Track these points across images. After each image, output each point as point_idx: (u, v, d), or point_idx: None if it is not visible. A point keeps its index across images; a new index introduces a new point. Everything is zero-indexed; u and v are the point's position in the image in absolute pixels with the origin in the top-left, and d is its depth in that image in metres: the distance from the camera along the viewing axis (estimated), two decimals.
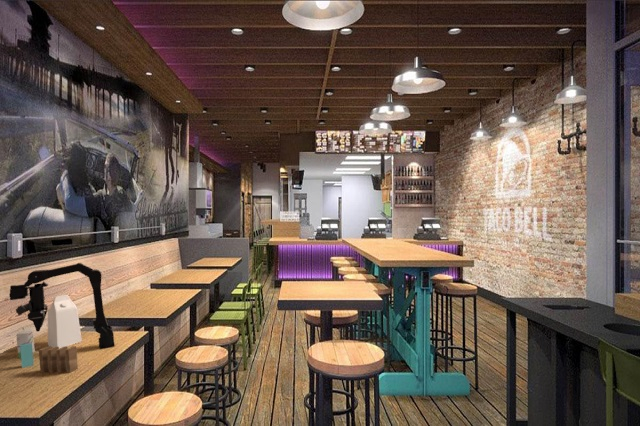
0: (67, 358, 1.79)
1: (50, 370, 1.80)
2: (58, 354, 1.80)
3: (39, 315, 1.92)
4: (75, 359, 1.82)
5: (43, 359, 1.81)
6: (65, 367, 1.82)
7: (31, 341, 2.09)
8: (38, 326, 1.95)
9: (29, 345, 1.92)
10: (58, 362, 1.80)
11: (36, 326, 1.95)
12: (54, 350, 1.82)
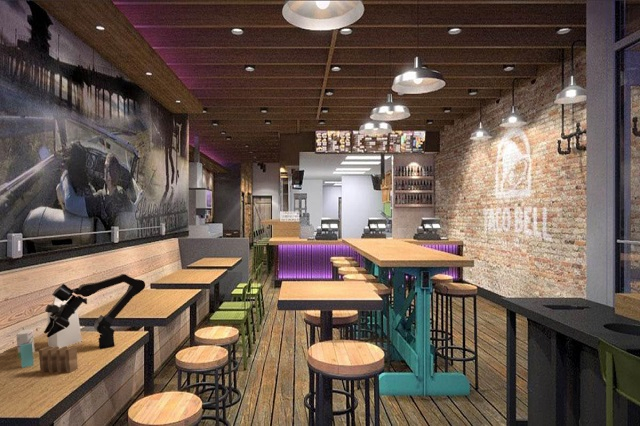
0: (67, 358, 1.79)
1: (50, 370, 1.80)
2: (58, 354, 1.80)
3: (65, 324, 1.94)
4: (75, 359, 1.82)
5: (43, 359, 1.81)
6: (65, 367, 1.82)
7: (31, 341, 2.09)
8: (52, 332, 1.94)
9: (29, 345, 1.92)
10: (58, 362, 1.80)
11: (51, 331, 1.93)
12: (54, 350, 1.82)
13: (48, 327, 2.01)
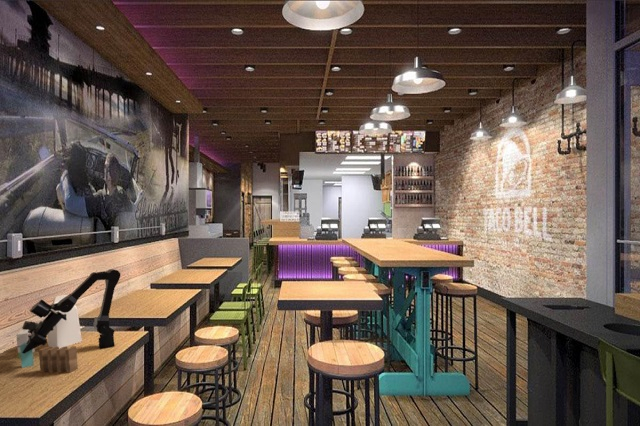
0: (67, 358, 1.79)
1: (50, 370, 1.80)
2: (58, 354, 1.80)
3: (42, 342, 1.88)
4: (75, 359, 1.82)
5: (43, 359, 1.81)
6: (65, 367, 1.82)
7: None
8: (28, 349, 1.90)
9: None
10: (58, 362, 1.80)
11: (27, 348, 1.90)
12: (54, 350, 1.82)
13: None
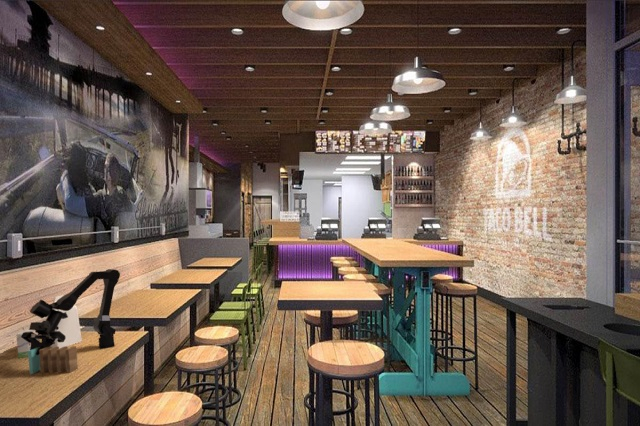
0: (67, 358, 1.79)
1: (50, 370, 1.80)
2: (58, 354, 1.80)
3: (63, 338, 1.88)
4: (75, 359, 1.82)
5: (43, 359, 1.81)
6: (65, 367, 1.82)
7: None
8: None
9: (37, 349, 1.84)
10: (58, 362, 1.80)
11: (41, 348, 1.84)
12: (54, 350, 1.82)
13: (33, 348, 1.85)
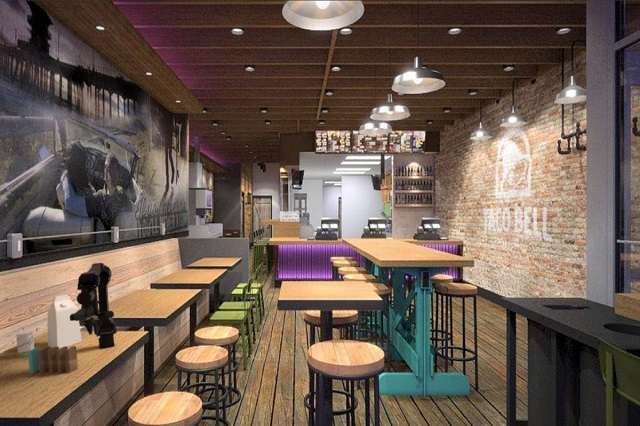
0: (67, 358, 1.79)
1: (50, 370, 1.80)
2: (58, 354, 1.80)
3: (112, 315, 1.89)
4: (75, 359, 1.82)
5: (43, 359, 1.81)
6: (65, 367, 1.82)
7: (31, 341, 2.09)
8: (97, 328, 1.89)
9: (37, 349, 1.84)
10: (58, 362, 1.80)
11: (96, 328, 1.88)
12: (54, 350, 1.82)
13: (89, 328, 1.89)
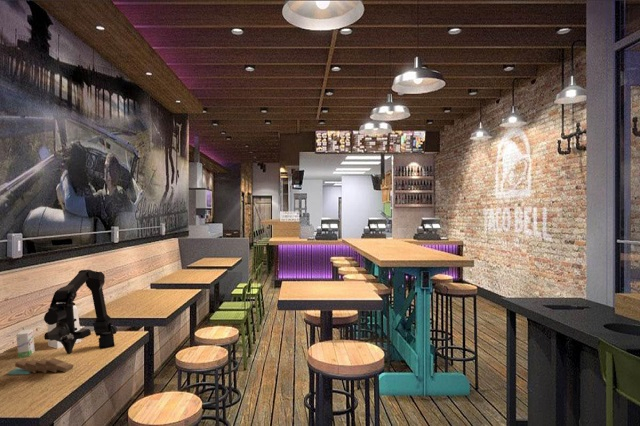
0: (53, 366, 1.80)
1: (44, 370, 1.81)
2: (39, 365, 1.81)
3: (89, 333, 1.81)
4: (62, 362, 1.83)
5: None
6: None
7: (31, 341, 2.09)
8: (71, 347, 1.81)
9: (16, 369, 1.86)
10: (46, 368, 1.80)
11: (70, 348, 1.81)
12: (31, 361, 1.83)
13: None
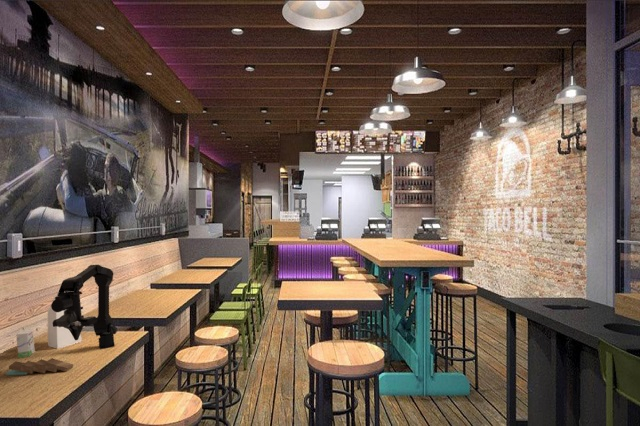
0: (53, 366, 1.80)
1: (42, 371, 1.80)
2: (38, 365, 1.80)
3: (95, 320, 1.90)
4: (62, 362, 1.84)
5: (20, 367, 1.80)
6: None
7: (31, 341, 2.09)
8: (78, 334, 1.90)
9: None
10: (45, 368, 1.80)
11: (77, 334, 1.89)
12: (26, 363, 1.81)
13: None
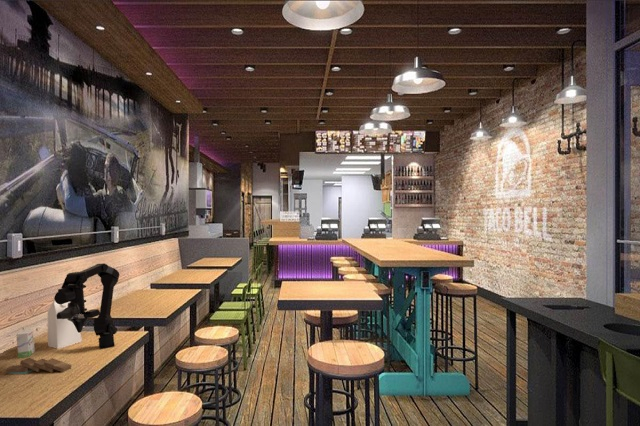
0: (51, 366, 1.81)
1: (36, 369, 1.82)
2: (37, 365, 1.82)
3: (98, 313, 1.94)
4: (61, 362, 1.84)
5: (15, 368, 1.83)
6: None
7: (31, 341, 2.09)
8: (81, 326, 1.95)
9: None
10: (43, 367, 1.82)
11: (80, 327, 1.94)
12: (26, 360, 1.85)
13: None
